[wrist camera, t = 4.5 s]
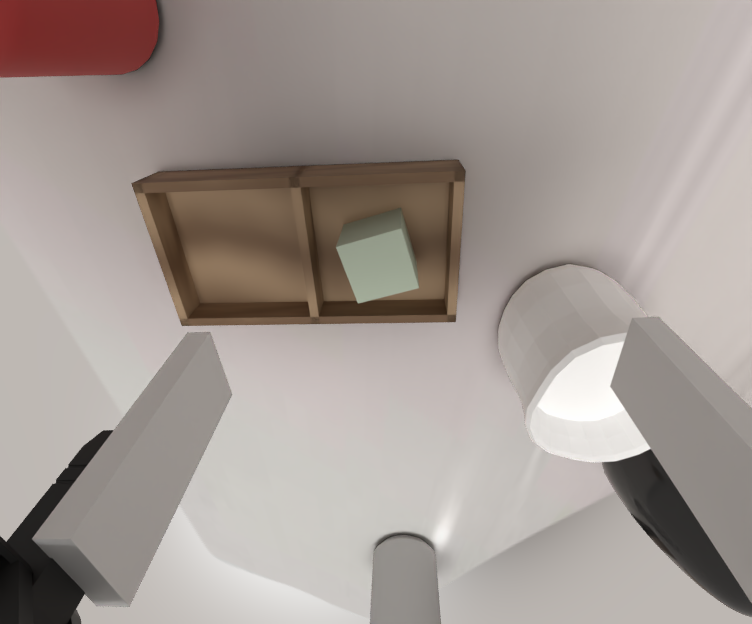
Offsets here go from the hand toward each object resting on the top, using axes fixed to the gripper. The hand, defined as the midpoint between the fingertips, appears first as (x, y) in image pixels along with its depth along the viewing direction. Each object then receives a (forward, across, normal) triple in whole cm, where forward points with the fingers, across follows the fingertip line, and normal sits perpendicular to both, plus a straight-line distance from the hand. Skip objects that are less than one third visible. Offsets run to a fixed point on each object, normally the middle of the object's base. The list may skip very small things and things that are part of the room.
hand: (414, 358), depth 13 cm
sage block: (+16, -2, -2) cm, 16 cm away
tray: (+17, -6, -2) cm, 18 cm away
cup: (+17, +11, -10) cm, 22 cm away
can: (+16, -1, -42) cm, 45 cm away
